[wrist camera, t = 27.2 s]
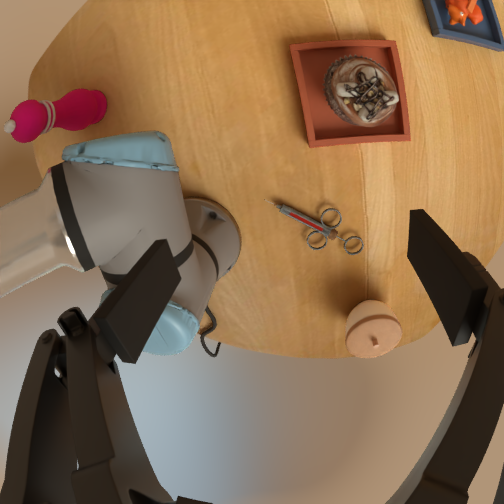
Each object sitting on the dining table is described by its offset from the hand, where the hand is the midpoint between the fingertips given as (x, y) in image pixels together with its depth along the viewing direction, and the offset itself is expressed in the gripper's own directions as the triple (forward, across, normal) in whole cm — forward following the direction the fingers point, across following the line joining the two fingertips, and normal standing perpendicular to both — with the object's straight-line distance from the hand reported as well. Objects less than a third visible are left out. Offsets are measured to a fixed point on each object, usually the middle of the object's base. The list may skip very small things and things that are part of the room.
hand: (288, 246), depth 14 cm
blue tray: (+29, -33, -25) cm, 50 cm away
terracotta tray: (+29, -10, -8) cm, 31 cm away
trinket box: (+29, -11, +32) cm, 44 cm away
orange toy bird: (+28, -33, -24) cm, 50 cm away
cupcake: (+28, -10, -8) cm, 31 cm away
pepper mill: (+29, +31, -16) cm, 45 cm away
